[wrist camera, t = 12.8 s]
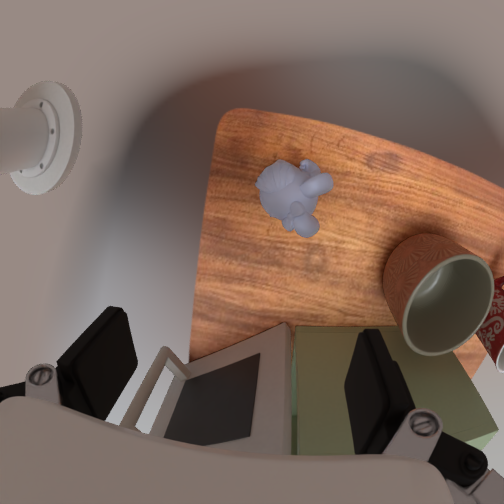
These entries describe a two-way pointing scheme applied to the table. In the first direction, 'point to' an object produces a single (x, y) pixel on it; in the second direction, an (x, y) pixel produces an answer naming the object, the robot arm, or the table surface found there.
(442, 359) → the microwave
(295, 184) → the toy figurine
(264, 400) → the microwave door
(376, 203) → the table surface
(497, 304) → the mug
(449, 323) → the planter
